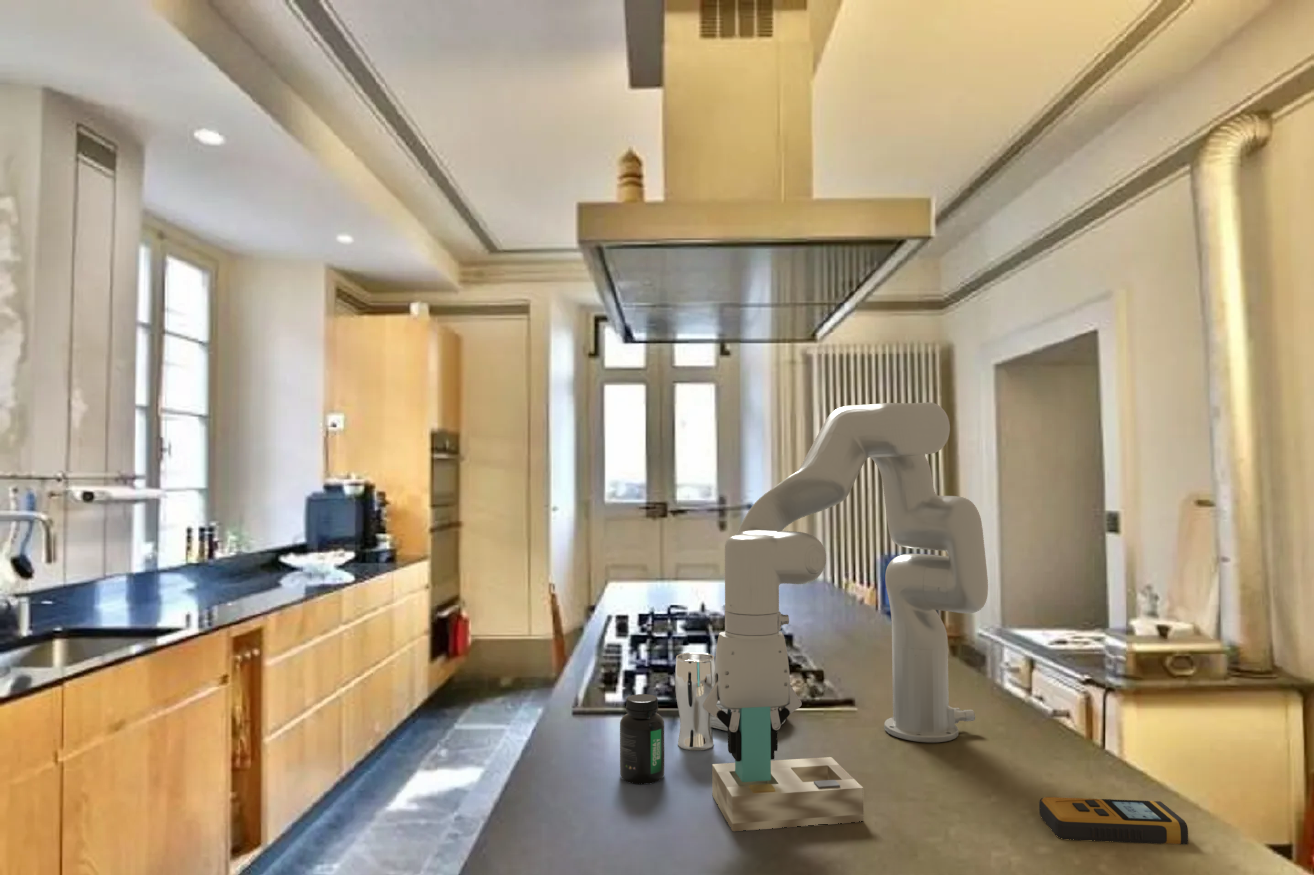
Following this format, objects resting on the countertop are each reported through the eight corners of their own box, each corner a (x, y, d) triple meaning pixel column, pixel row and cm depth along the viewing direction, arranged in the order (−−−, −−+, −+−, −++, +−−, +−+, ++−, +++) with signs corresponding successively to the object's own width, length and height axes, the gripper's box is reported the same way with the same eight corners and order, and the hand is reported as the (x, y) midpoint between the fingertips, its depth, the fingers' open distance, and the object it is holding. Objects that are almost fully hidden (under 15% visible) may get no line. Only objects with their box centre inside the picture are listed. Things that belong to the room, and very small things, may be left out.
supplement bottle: (668, 783, 125) (667, 703, 126) (622, 786, 124) (622, 705, 125) (660, 767, 132) (660, 691, 132) (617, 770, 131) (617, 693, 131)
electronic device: (1036, 818, 114) (1035, 793, 114) (1158, 821, 112) (1157, 796, 112) (1059, 845, 106) (1058, 818, 106) (1190, 849, 104) (1189, 821, 104)
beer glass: (713, 753, 138) (712, 662, 139) (672, 750, 140) (671, 660, 140) (718, 739, 145) (717, 652, 146) (679, 737, 147) (678, 651, 147)
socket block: (831, 787, 123) (831, 754, 123) (863, 821, 111) (863, 785, 112) (712, 795, 120) (712, 762, 121) (732, 831, 109) (732, 794, 109)
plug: (762, 770, 118) (762, 694, 118) (770, 780, 114) (770, 701, 114) (735, 771, 117) (734, 695, 117) (742, 782, 113) (741, 703, 113)
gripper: (801, 617, 121) (801, 745, 120) (687, 620, 119) (688, 751, 118) (818, 627, 114) (819, 763, 113) (698, 631, 111) (698, 770, 110)
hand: (752, 755), depth 115 cm, fingers closed on plug, 4 cm apart
